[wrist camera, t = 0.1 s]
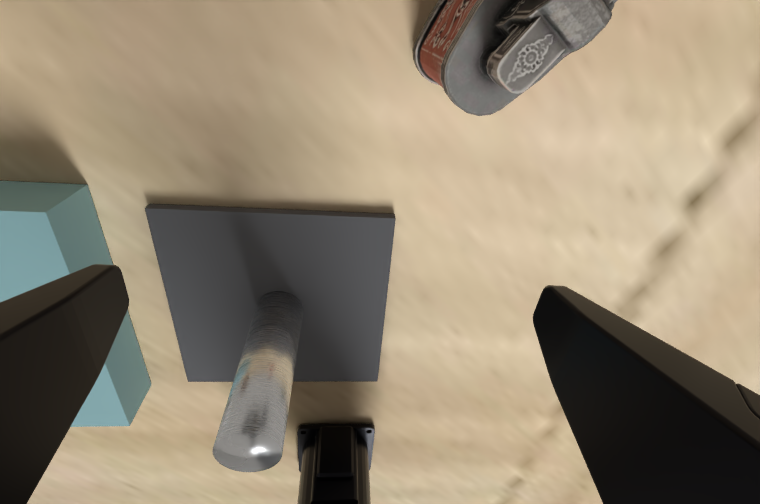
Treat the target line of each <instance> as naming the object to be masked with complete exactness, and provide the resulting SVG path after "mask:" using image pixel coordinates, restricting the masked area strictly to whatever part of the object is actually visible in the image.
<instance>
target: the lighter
mask: <svg viewBox="0 0 760 504" xmlns="http://www.w3.org/2000/svg"><path fill="white" fill-rule="evenodd" d="M616 1H617V0H439V1H438V2H437V4H436V5H435V7H434V8H433V10H432V12H431V14H430V15H429V17H428V19H427V21H426V23H425V25H424V27H423V28H422V30H421V32H420V34H419V36H418V38H417V40H416V42H415V45H414V48H413V60H414V62H415V65H416V68H417V69H418V71H419V72H420V73H421V75H422V76H423V77H424V78H426V79H427V80H429V81H430V82H431V83H434V84H438V85H440V86H442V87H443V88H444V91H445V93H446V94H447V95H448V97H449V98H450V100H451V101H452V102H453V103H454V104H455V105H456V106H458V107H459V108H461V109H462V110H464V111H465V112H466V113H469V114H473V115H477V116H482V115H491V114H493V113H495V112H497V111H499V110H501V109H502V108H504V107H505V106H506V105H508V104H509V103H510V102H511V101H513V100H514V99H515V98H517V97H518V96H519V95H521V94H522V93H523V92H525V91H526V90H527V89H529V88H530V87H531V86H532V85H534V84H535V83H536V82H538V81H539V80H540V79H541V78H543V77H544V76H545V75H546V74H547V73H548V72H549V71H550V70H551V69H552V68H553V67H554V66H555V65H557V64H558V63H559V62H560V61H561V60H562V59H563V58H564V57H565V56H567V55H568V54H570V53H572V52H574V51H577V50H579V49H580V48H582V47H584V46H585V45H586V44H588V43H589V42H590V41H591V40H592V39H593V38H594V37H595V36H596V35H597V34H598V33H599V32H600V31H601V30H602V29H603V28H604V27H605V26H606V25H607V23H608V22H609V20H610V19H611V16H612V12H611V11H612V9H613V7H614V3H615V2H616Z"/></svg>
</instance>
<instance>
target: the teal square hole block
mask: <svg viewBox="0 0 760 504" xmlns="http://www.w3.org/2000/svg"><path fill="white" fill-rule="evenodd" d="M93 264H105V265H113V263H112V260H111V257H110V253H109V250H108V247H107V244H106V241H105V238H104V235H103V232H102V229H101V225H100V222H99V219H98V216H97V213H96V210H95V207H94V204H93V200H92V197H91V194H90V191H89V188H88V185H86V184H64V183H42V182H20V181H0V302H2V301H5V300H7V299H10V298H12V297H15V296H17V295H20V294H22V293H24V292H27V291H29V290H32V289H34V288H37V287H39V286H42V285H44V284H46V283H49V282H51V281H54V280H56V279H59V278H61V277H64V276H66V275H68V274H71V273H73V272H76V271H78V270H81V269H83V268H86V267H88V266H90V265H93ZM150 386H151V381H150V378H149V375H148V372H147V369H146V366H145V363H144V360H143V356H142V353H141V350H140V347H139V344H138V341H137V338H136V335H135V331H134V328H133V325H132V322H131V319H130V316H129V313H128V310H127V312H126V315H125V317H124V319H123V322H122V324H121V326H120V329H119V331H118V333H117V336H116V338H115V340H114V343H113V345H112V348H111V350H110V352H109V355H108V357H107V359H106V362H105V364H104V366H103V368H102V370H101V373H100V375H99V377H98V378H97V380H96V382H95V384H94V386H93V388H92V389H91V391H90V393H89V395H88V397H87V398H86V400H85V402H84V404H83V405H82V407H81V409H80V411H79V412H78V414H77V416H76V418H75V419H74V421H73V423H72V425H71V426H70V427H82V426H130V424H131V422H132V421H133V419H134V417H135V415H136V413H137V411H138V409H139V407H140V405H141V403H142V401H143V400H144V398H145V396H146V394H147V392H148V390H149V388H150Z"/></svg>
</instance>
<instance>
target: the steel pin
mask: <svg viewBox="0 0 760 504" xmlns="http://www.w3.org/2000/svg"><path fill="white" fill-rule="evenodd" d="M302 316H303V306H302V303H301V301H300V300H299V299H298V298H297V297H296V296H294V295H293V294H291V293H288V292H284V291H273V292H269V293H267V294H265V295H263V296H262V297H261V298H260V299H259V301H258V304H257V307H256V310H255V313H254V317H253V320H252V323H251V326H250V330H249V333H248V336H247V339H246V343H245V346H244V349H243V352H242V356H241V359H240V362H239V365H238V369H237V372H236V375H235V378H234V382H233V385H232V388H231V391H230V395H229V398H228V401H227V404H226V408H225V411H224V414H223V417H222V421H221V424H220V427H219V430H218V434H217V437H216V440H215V444H214V447H213V455H214V457H215V459H216V460H217V461H218V462H219V463H220V464H222V465H223V466H225V467H227V468H229V469H232V470H236V471H241V472H257V471H262V470H266V469H269V468H271V467H273V466H274V465H276V464H277V463H278V462H279V461H280V459H281V457H282V451H283V444H284V438H285V431H286V424H287V417H288V411H289V404H290V397H291V390H292V383H293V377H294V370H295V363H296V356H297V350H298V343H299V336H300V329H301V322H302Z"/></svg>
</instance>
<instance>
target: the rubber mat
mask: <svg viewBox="0 0 760 504" xmlns="http://www.w3.org/2000/svg"><path fill="white" fill-rule="evenodd" d="M145 211H146V215H147V219H148V223H149V227H150V231H151V235H152V239H153V243H154V247H155V251H156V255H157V259H158V263H159V267H160V271H161V275H162V279H163V283H164V287H165V291H166V295H167V299H168V303H169V307H170V311H171V315H172V319H173V323H174V328H175V332H176V336H177V340H178V344H179V348H180V352H181V356H182V360H183V364H184V368H185V372H186V376H187V380H188V382H234V378H235V375H236V372H237V369H238V365H239V362H240V359H241V356H242V352H243V349H244V346H245V343H246V339H247V336H248V333H249V330H250V326H251V323H252V320H253V317H254V313H255V310H256V307H257V304H258V301H259V299H260V298H261V297H262V296H263V295H265V294H267V293H269V292H273V291H284V292H288V293H291V294H293V295H294V296H296V297H297V298H298V299H299V300H300V301H301V303H302V306H303V316H302V322H301V329H300V336H299V343H298V350H297V356H296V363H295V370H294V377H293V381H377V380H378V371H379V362H380V353H381V344H382V335H383V326H384V317H385V308H386V299H387V290H388V281H389V272H390V263H391V254H392V245H393V236H394V227H395V214H381V213H358V212H334V211H310V210H286V209H262V208H238V207H214V206H190V205H166V204H149V205H148V206H147V207H146V208H145Z"/></svg>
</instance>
